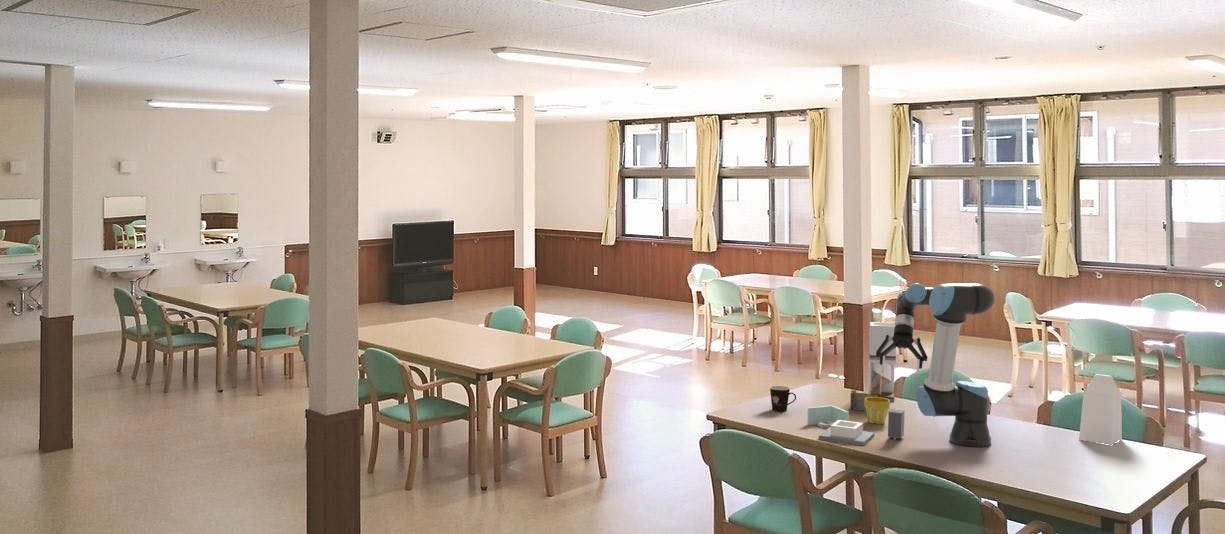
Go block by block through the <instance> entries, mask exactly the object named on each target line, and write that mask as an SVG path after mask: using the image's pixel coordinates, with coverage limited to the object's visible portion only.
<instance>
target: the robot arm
mask: <svg viewBox="0 0 1225 534" xmlns="http://www.w3.org/2000/svg"><path fill="white" fill-rule="evenodd" d="M896 299H897V300H896V305H895V307H896V308H895V318H894V323H895V328H894V336H893V337H890V336H889V335H886V338H885V340H884V342H883V343H882V344H881V346H880V347H879V349H878V350H877V351H876V356H879V357H880V364H881V365H882V373H884V364H885V356H886V355H887V354H888V353H889V352H890V351H892V350H893V349H895V348H896V349H897V348H898V349H908V351H910V352H911V353H912V354H913V355H914V357H915V358H916V359H917V361H916V362H917V365H916V376H915V377H917V378H919V373H920V369H923V362H927V361H928V357H929V356H928V355H927V353H926V351H925V349H924V347H923V345H922V343H921V338H920V337H918V338H914V337H913V336H914V326H915V325H914V324H915V323H914V321H915V311H916V310H917V309H918V307H921V306H922V307H923V306H929V311H930V313H931V314H932V315H933V319H934V320H935V321H936V325H935V332H934V333H935V334H934V339H933V346H932V353H931V359H930V366H929V373H928V376H927V377H925V379H923V380H924V381H923V385H919V386H918V387H917V388H916V391H915V395H916V402H917V406H918V409H919V411H920V413H921V414H922V415H923V416H926V417H954V422H953V426H952V428H951V432H950V433H949V441H950V442H951V443H952V444H956V445H960V446H962V447H963V446H964V447H971V448H972V447H974V448H977V447H978V448H980V447H981V448H983V447H988V446H990V445H991V444H992V437H991V435H990V431H989V426H988V406H989V393H988V391H989V390H988V388H987V386H985V385H983V384H981V383H978V382H977V383H976V382H972V381H967V380H966V381H965V380H958V381H956V383H955V382H954V381H953V379H954V378H953V377H954V372H955V364H956V357H957V352H958V347H959V338H960V332H961V326H962V325H964V323H966V322H967V316H970V315H971V316H972V315H973V316H975V315H977V316H978V315H982V314H985V313H987V312H988V311H990V310H991V309H992V308H993V306H994V304H995V301H996V300H995V299H996V297H995V294H994V291H993V290H992V289H991V288H990V287H989V286H987V285H984V284H981V283H949V282H947V283H940V284H937V285H936V286H934V287H928V286H924V285H923V284H921V283H918V282H915V283H911V285H909V286H908V288H907V289H906V290H905V291H903V292H901V293H899V294H898V295H897V298H896ZM891 340H892V341H893V343H892V344H891V345H890V346H889V347H888V348H887V349H885V350H884V351H883V352H882V350H883V349H884V348H885V346H886V345H887V343H888V342H890V341H891ZM913 343H914V344H915V345H916V346H917V349H918V350H919V351H918V350H917V349H916V348H915V347H914V345H913ZM881 352H882V353H881Z"/></svg>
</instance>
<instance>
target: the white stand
mask: <svg viewBox="0 0 1225 534" xmlns="http://www.w3.org/2000/svg"><path fill="white" fill-rule="evenodd" d="M894 328H895V322H882V321H881V322H878V321H877V322H876V321H875V322H874V321H870V322H869V351H868V354H869V355H868V356H869V357H868V384H867V385H868V389H867V391H868V392H867V394H877V397H881V398H886V399H889V400H890V401H894V402H895V394H894V393H895V392H894V388H895V387H894V386H895V365H896V361H897V360H896V358H897V357H896V356H897V347H896V348H895V349H893V350H892V351H890V352H889V353H888V354H887V355H886V356H885V364H884V373H882V365H881V364H880V357H879V356H876V351H877V350H878V349H879V347H880V346H881V344H882V343H883V342H884V340H885V338H886V335H889V336H890V337H893V336H894ZM892 343H893V341H892V340H891V341H890V342H888V343H887V345H886V346H885V348H884V349H883V350H882V352H883V351H884V350H885V349H887V348H888V347H889V346H890V345H891V344H892ZM882 352H881V353H882Z"/></svg>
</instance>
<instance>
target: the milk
mask: <svg viewBox="0 0 1225 534" xmlns="http://www.w3.org/2000/svg"><path fill="white" fill-rule="evenodd" d="M1082 396H1083V397H1082V405H1081V414H1080V417H1081V418H1080V425H1079V435H1078V441H1081V440H1084V441H1083V442H1086V441H1091V442H1098V443H1104V444H1109V445H1112V444H1114V443H1115V442H1117V441H1118V440H1122V441H1123V439H1122V438H1123V437H1122V436H1123V435H1122V434H1123V432H1122V431H1123V428H1122V424H1123V419H1122V417H1123V416H1122V392H1121V390H1120V389H1119V387H1118V386H1117V385H1116V383H1115V380H1114V378H1113V375H1107V374H1102V373H1101V374H1100V373H1099V374H1098V373H1095V374H1094V376H1093V377H1092V378H1091V381H1090V382H1089V384H1088V385H1087V387H1086V389H1085V391H1084V392H1083V395H1082ZM1091 442H1090V443H1091Z"/></svg>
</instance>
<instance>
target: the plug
mask: <svg viewBox="0 0 1225 534" xmlns="http://www.w3.org/2000/svg"><path fill="white" fill-rule="evenodd" d="M887 420H888V423H887V424H888V427H887V437H888V438H893V440H895V441H896V440H897V439H902V438H903V437H904V435H905V409H904V410H902V409H895V408H894V409H893V408H891V409H890V410H889V411H888V419H887Z"/></svg>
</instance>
